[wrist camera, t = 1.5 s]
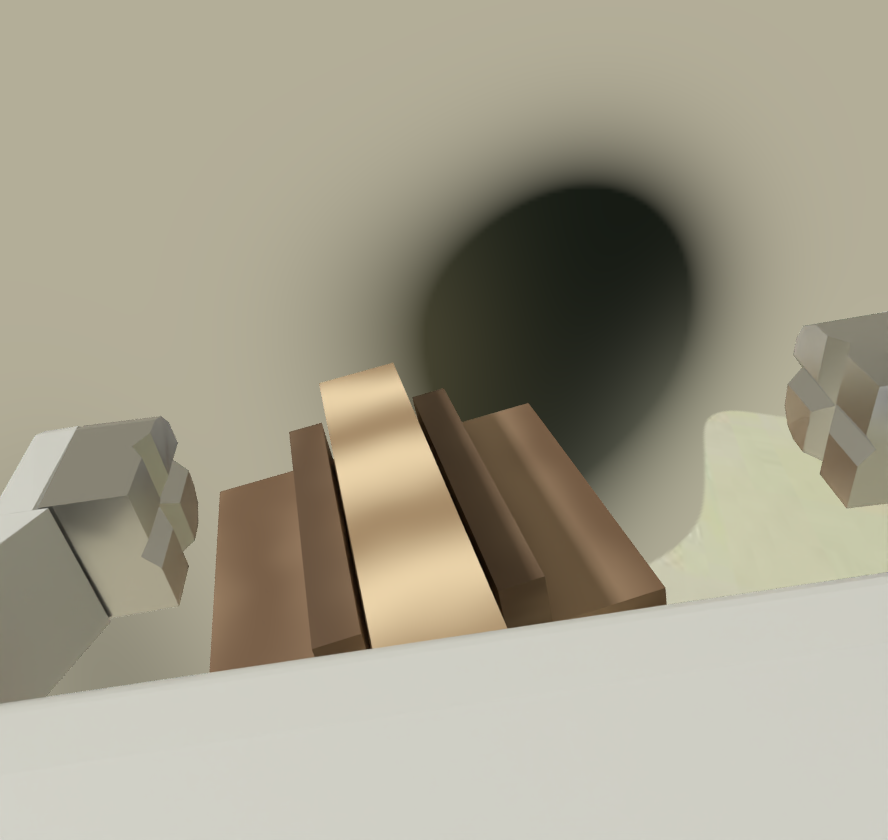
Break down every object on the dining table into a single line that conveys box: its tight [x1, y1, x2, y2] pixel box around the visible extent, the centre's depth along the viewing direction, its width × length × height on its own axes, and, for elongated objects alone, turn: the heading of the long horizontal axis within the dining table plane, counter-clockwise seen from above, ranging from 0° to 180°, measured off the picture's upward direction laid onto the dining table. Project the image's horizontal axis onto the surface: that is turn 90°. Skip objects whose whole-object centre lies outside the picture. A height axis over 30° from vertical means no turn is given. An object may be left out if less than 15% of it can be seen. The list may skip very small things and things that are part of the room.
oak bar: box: [319, 363, 507, 649], centre depth 26 cm, size 24×4×4 cm, turn 13°
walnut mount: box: [210, 389, 667, 673], centre depth 36 cm, size 15×14×28 cm
